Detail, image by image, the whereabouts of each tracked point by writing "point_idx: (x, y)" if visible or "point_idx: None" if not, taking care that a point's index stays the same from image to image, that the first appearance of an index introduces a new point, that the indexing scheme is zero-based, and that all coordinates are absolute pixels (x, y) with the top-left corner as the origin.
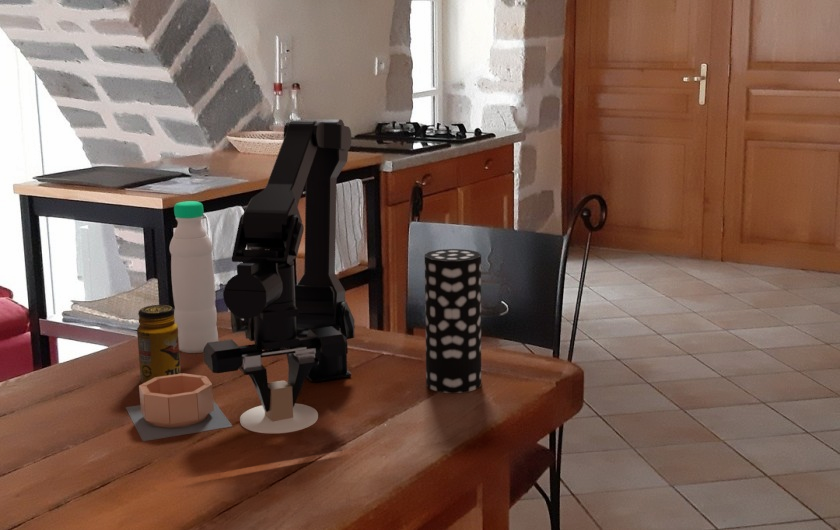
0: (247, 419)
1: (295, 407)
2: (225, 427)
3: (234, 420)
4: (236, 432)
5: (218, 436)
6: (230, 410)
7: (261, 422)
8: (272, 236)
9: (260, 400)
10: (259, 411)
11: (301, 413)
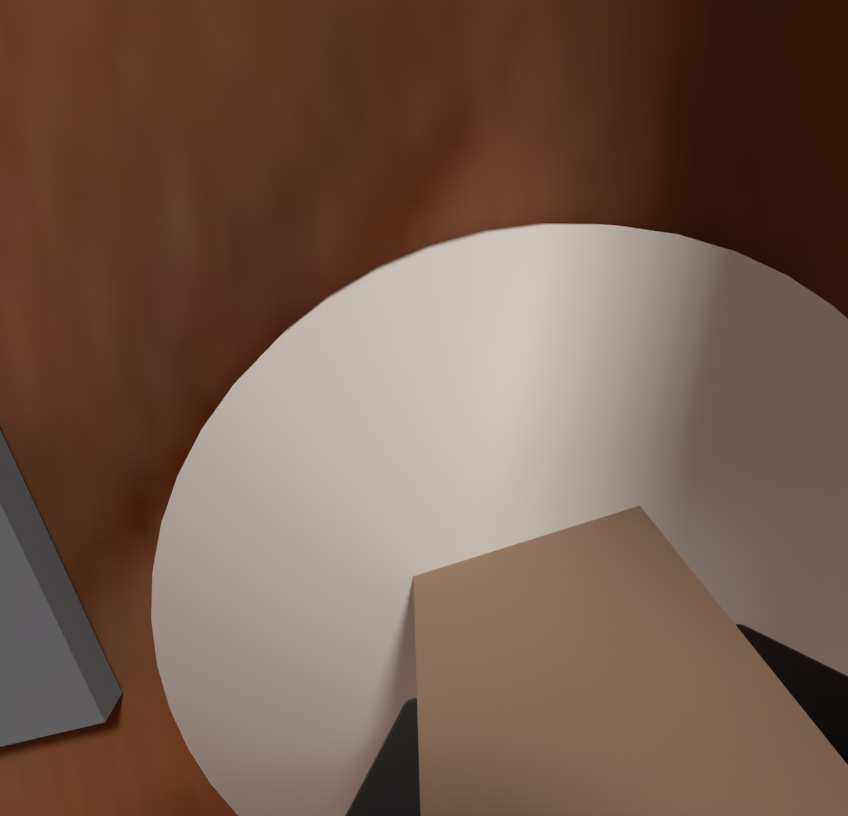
0: (233, 663)
1: (767, 421)
2: (38, 736)
3: (101, 451)
4: (158, 729)
5: (13, 782)
6: (6, 121)
7: (374, 755)
8: None
9: (363, 785)
10: (355, 471)
11: (788, 607)
